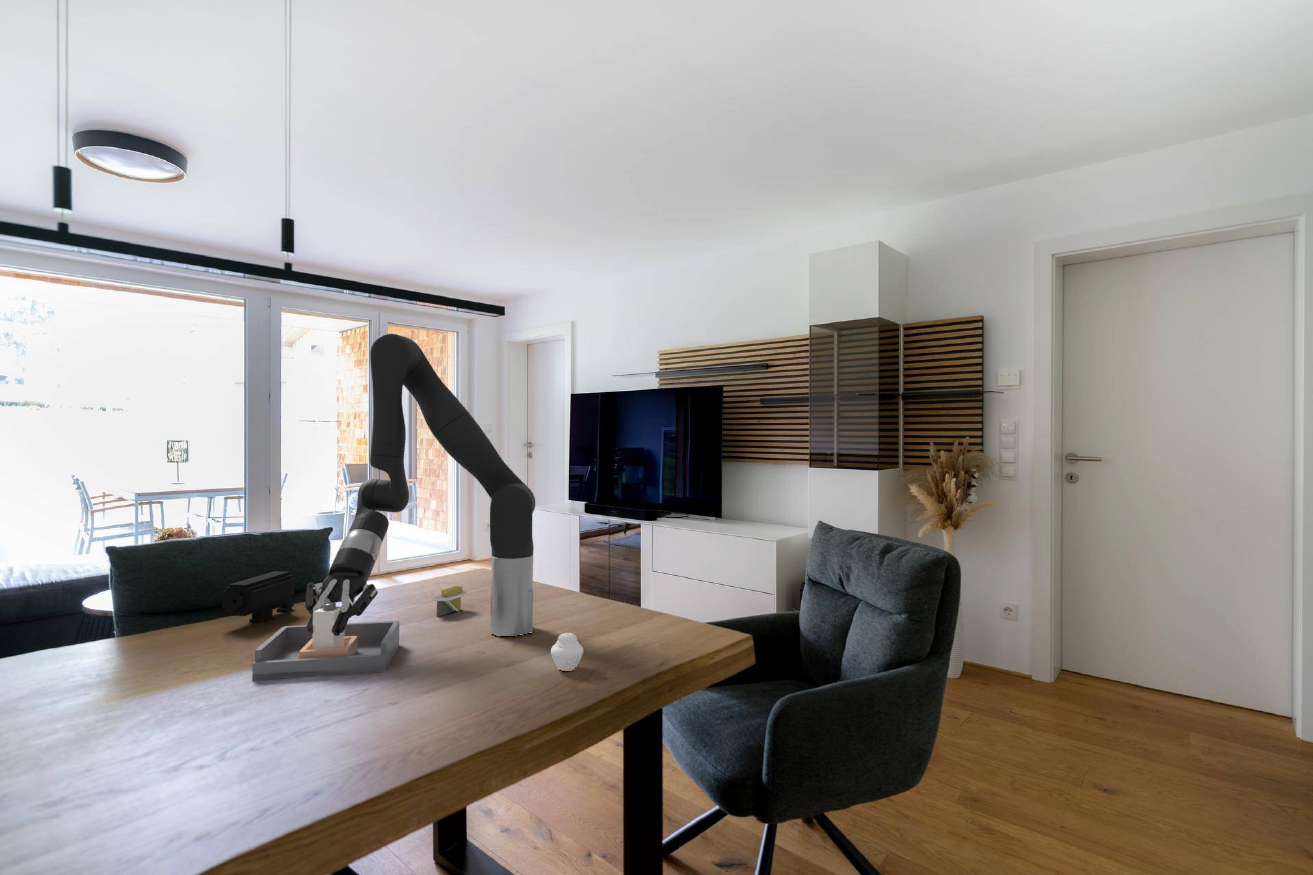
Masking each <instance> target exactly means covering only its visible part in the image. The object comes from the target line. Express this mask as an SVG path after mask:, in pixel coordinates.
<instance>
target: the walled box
mask: <svg viewBox="0 0 1313 875" xmlns="http://www.w3.org/2000/svg"><path fill="white" fill-rule="evenodd" d="M312 636H313V635H311V634H310V633H309V632H308V629H307V624H305V625H303V624H301V625H285V626H281V628H279V629H278V630H277V631H276V632H275V633H274V634H272V636H270V637H269V638H268V639H267V640H265V641H264V642H263V643H262V644H261V645H259V646H258V647H257V648H256V649H254V661H253V662H252V668H251V669H252V671H251V672H252V677H251V678H252V681H261V680H262V681H263V680H276V679H277V680H279V679H294V678H295V679H296V678H311V677H322V676H324V677H325V676H327V677H328V676H338V675H339V676H340V675H356V674H371V673H383V672H384V673H385V672H386V671H387V669H388V667H389V665H390V663H391V661H392V659H393V657H394V656H395V653H396V652H397V649H398V648H399V646H400V620H387V621H369V622H349V623H348V622H347V625H346V627H345V635H344V648H335V649H317V650H312Z"/></svg>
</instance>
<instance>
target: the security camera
mask: <svg viewBox="0 0 1313 875" xmlns="http://www.w3.org/2000/svg"><path fill="white" fill-rule="evenodd" d="M294 595H296V578H294V577H293V574H290V571H277V570H275V571H271V572H268V573H267V572H266V573H264V574H260V575H257V576H254V577H250V578H246V579H243V580H241V581H236V582H234V583H233V582H232V583H230V584H229V586H227V587H226V588H225V589H224V590H222V609H225V613H228V616H233V617H246V616H249V615H251V618H249V621H248V622H249V623H250V624H251V623H253V624H260V623H263V622H265V621H267V620H270V619H272V618H273V613H274V612H273V610H276V613H288V612H290V611H292V610H293V607H295V603H294V602H292V596H294Z"/></svg>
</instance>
